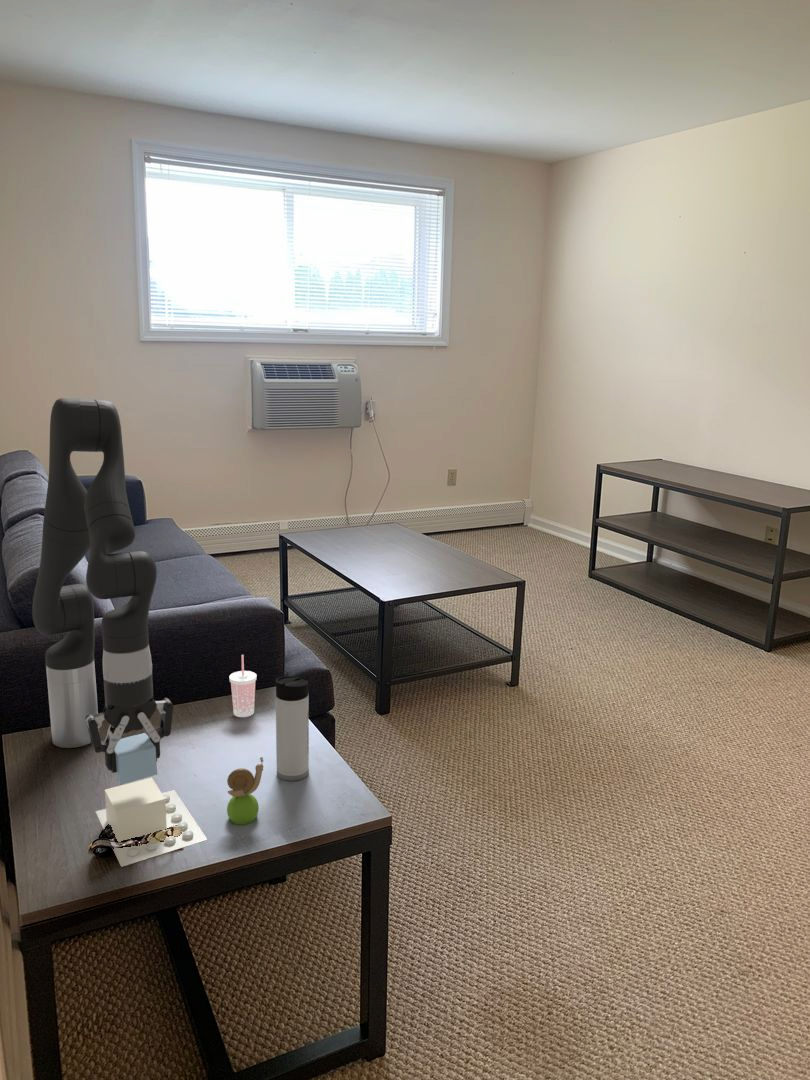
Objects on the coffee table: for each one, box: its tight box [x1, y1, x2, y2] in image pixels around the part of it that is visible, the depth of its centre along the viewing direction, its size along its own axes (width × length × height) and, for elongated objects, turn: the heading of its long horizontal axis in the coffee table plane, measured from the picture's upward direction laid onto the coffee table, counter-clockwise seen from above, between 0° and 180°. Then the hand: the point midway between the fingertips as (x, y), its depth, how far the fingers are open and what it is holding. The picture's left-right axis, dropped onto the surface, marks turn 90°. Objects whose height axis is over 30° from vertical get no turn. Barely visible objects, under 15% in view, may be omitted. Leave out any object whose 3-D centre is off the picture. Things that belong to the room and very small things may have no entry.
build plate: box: [94, 789, 208, 868], centre depth 137 cm, size 18×14×2 cm
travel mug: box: [275, 675, 310, 782], centre depth 154 cm, size 6×7×20 cm
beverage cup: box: [229, 654, 257, 718], centre depth 181 cm, size 6×6×14 cm
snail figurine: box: [226, 756, 264, 825], centre depth 139 cm, size 5×6×12 cm
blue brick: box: [113, 732, 158, 786], centre depth 134 cm, size 6×6×5 cm
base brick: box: [104, 776, 167, 842], centre depth 136 cm, size 8×8×6 cm
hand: (133, 765), depth 134 cm, fingers closed on blue brick, 6 cm apart
